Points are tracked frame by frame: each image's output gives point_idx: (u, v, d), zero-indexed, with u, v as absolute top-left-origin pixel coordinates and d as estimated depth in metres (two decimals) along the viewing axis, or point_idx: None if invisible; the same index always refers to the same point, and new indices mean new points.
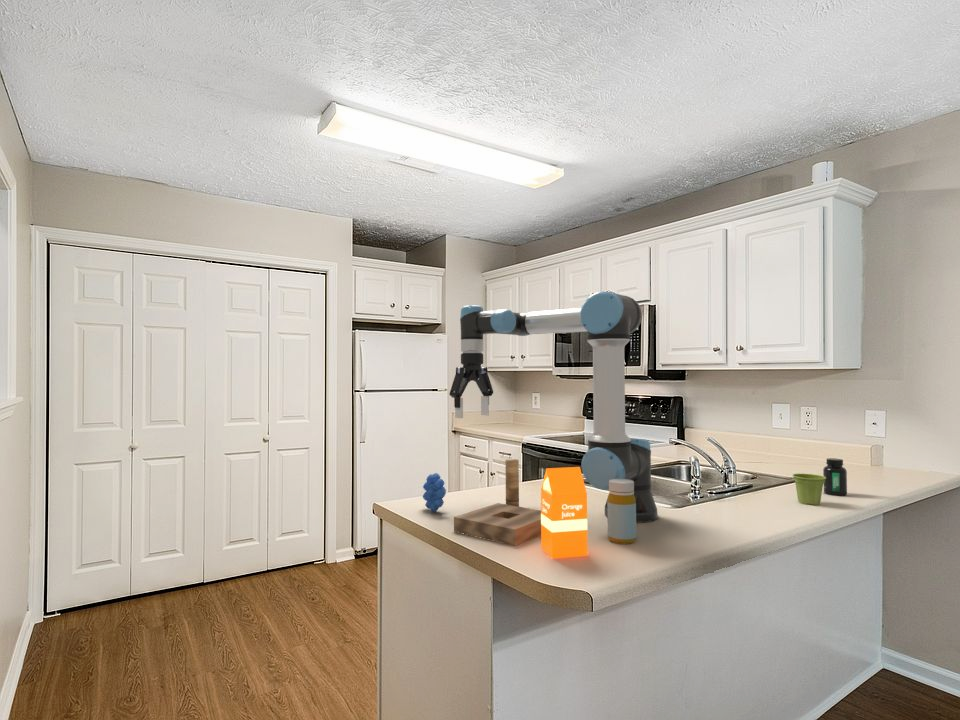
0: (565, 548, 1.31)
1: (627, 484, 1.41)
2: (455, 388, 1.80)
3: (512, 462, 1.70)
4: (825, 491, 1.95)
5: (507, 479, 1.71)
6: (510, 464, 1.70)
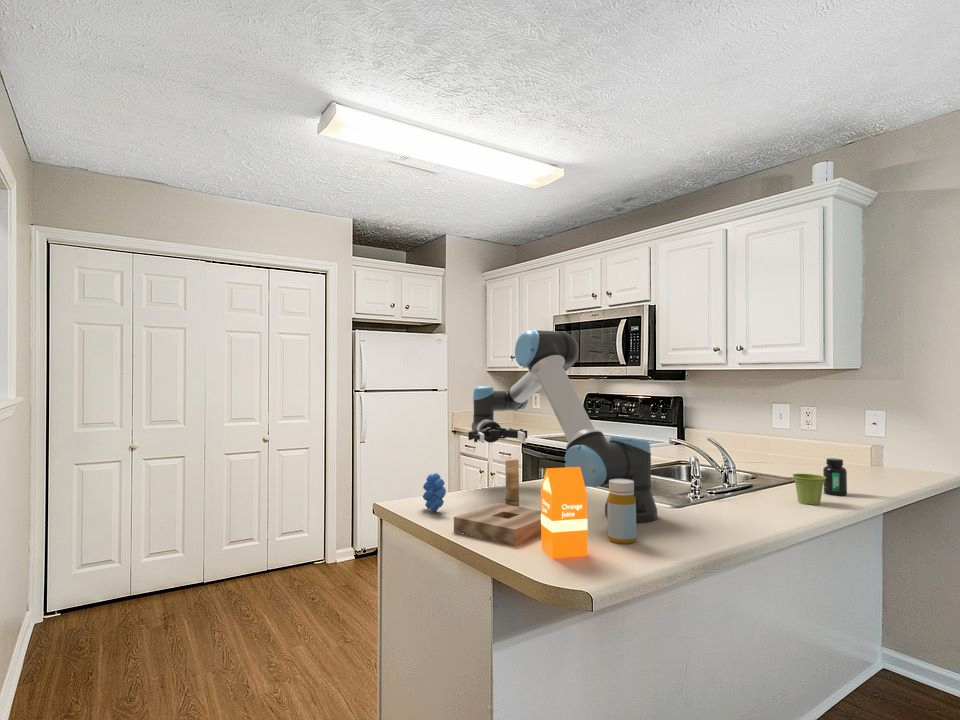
0: (565, 548, 1.31)
1: (627, 484, 1.41)
2: None
3: (512, 462, 1.70)
4: (825, 491, 1.95)
5: (507, 479, 1.71)
6: (510, 464, 1.70)
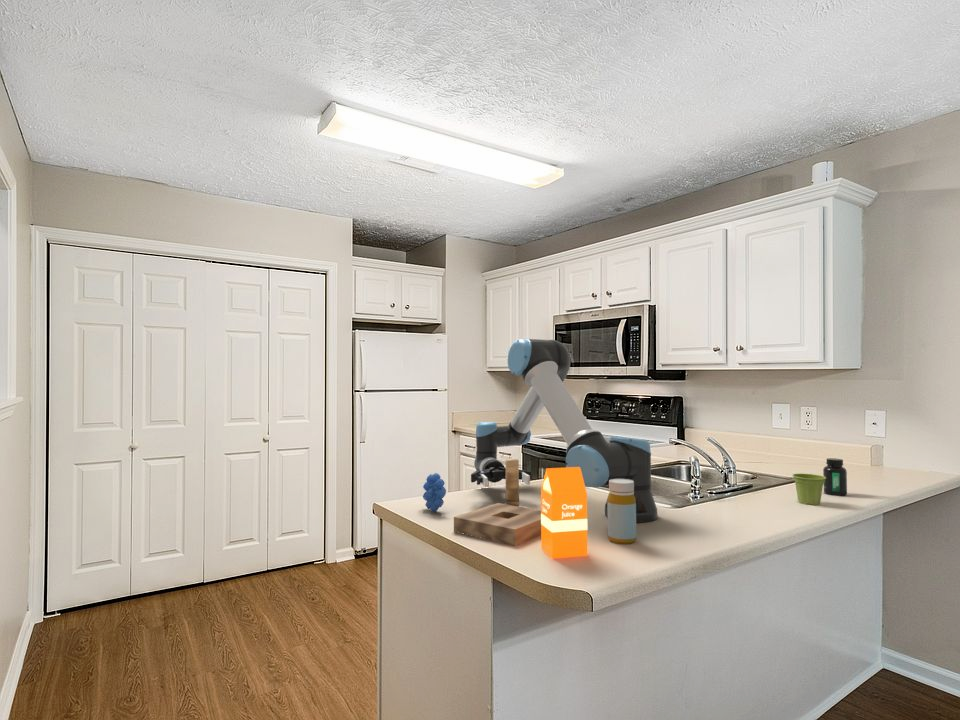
0: (565, 548, 1.31)
1: (627, 484, 1.41)
2: None
3: (512, 462, 1.70)
4: (825, 491, 1.95)
5: (507, 479, 1.71)
6: (510, 464, 1.70)
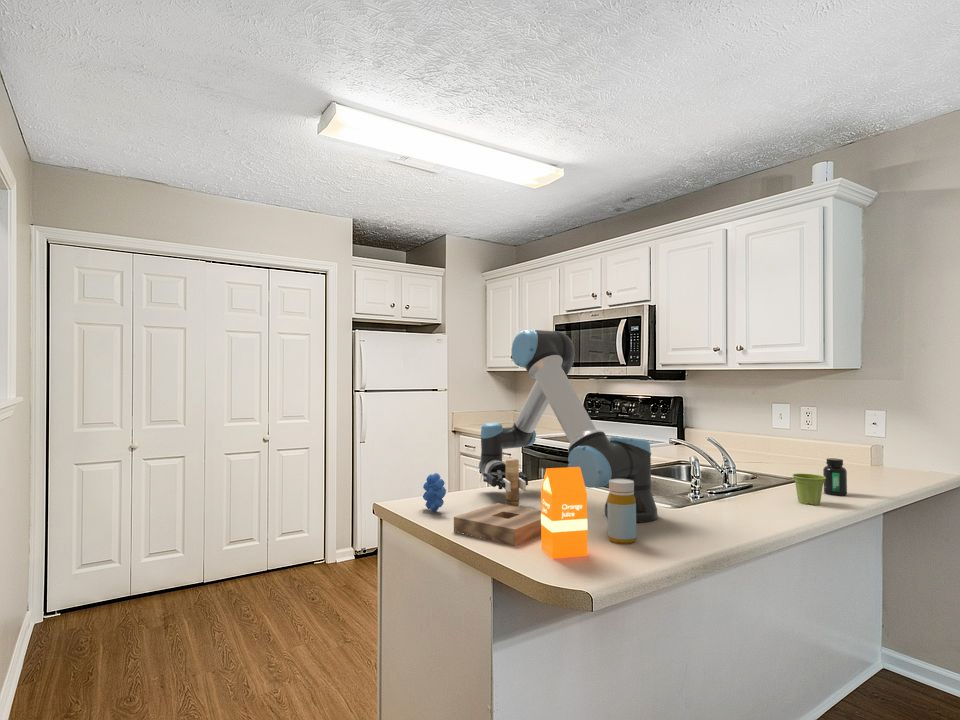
0: (565, 548, 1.31)
1: (627, 484, 1.41)
2: (490, 479, 1.75)
3: (512, 462, 1.70)
4: (825, 491, 1.95)
5: (507, 479, 1.71)
6: (510, 464, 1.70)
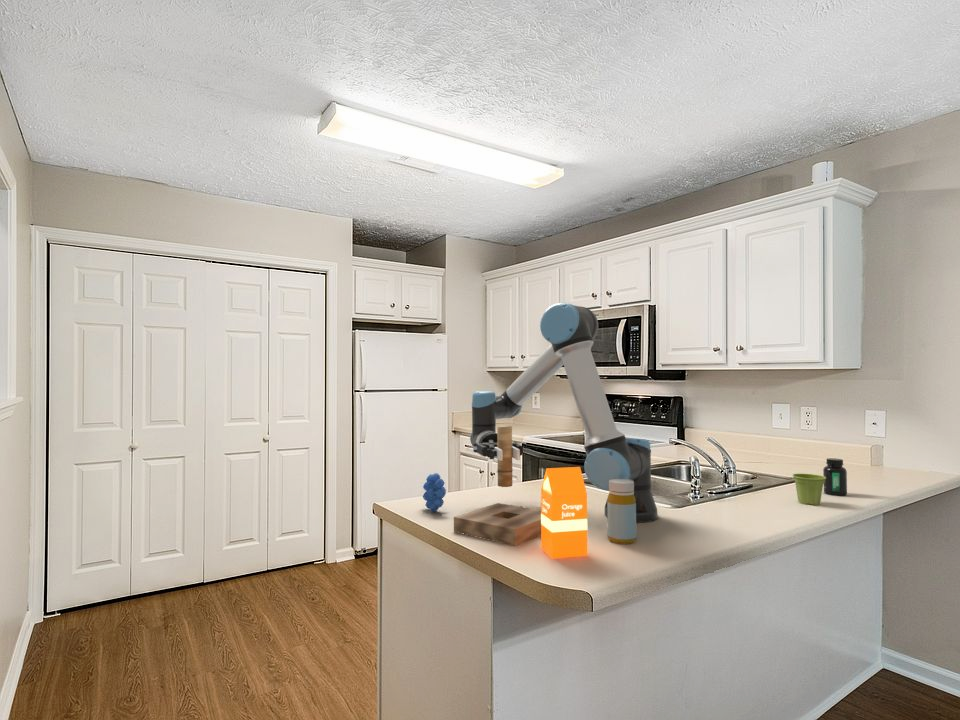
0: (565, 548, 1.31)
1: (627, 484, 1.41)
2: (481, 448, 1.57)
3: (504, 428, 1.52)
4: (825, 491, 1.95)
5: (499, 447, 1.53)
6: (502, 430, 1.53)
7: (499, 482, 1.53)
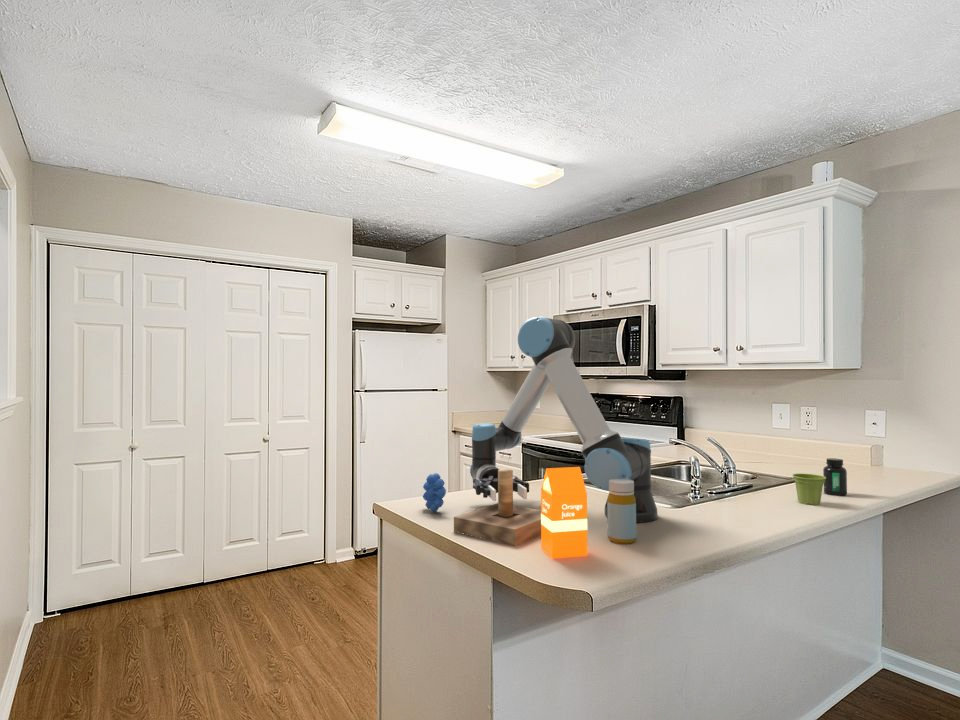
0: (565, 548, 1.31)
1: (627, 484, 1.41)
2: None
3: (505, 473, 1.52)
4: (825, 491, 1.95)
5: (500, 492, 1.53)
6: (503, 475, 1.52)
7: None
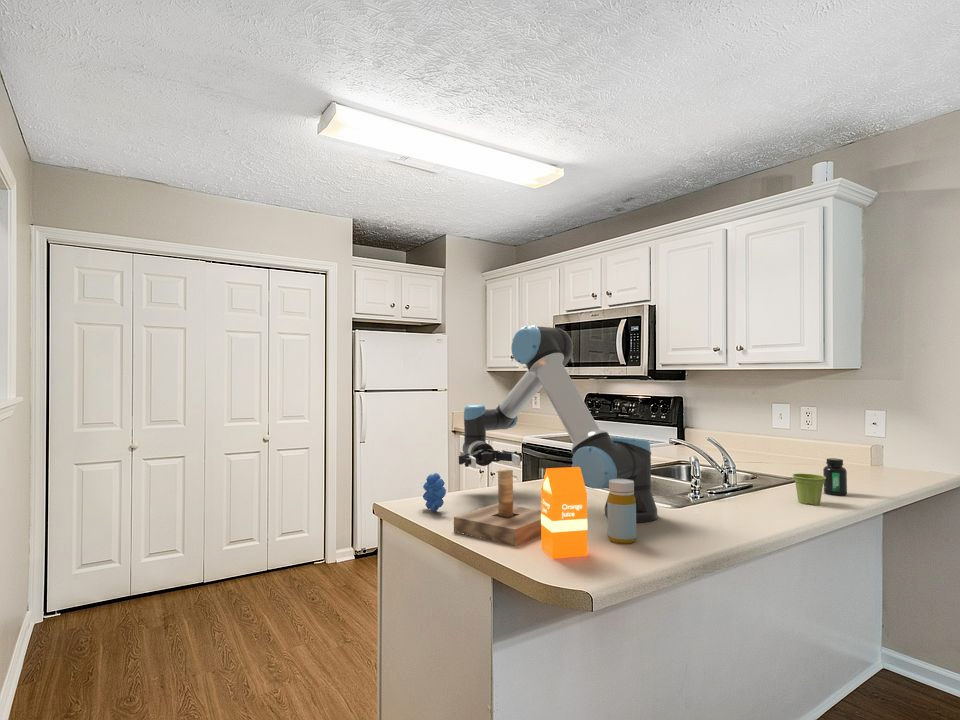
0: (565, 548, 1.31)
1: (627, 484, 1.41)
2: None
3: (505, 473, 1.52)
4: (825, 491, 1.95)
5: (500, 492, 1.53)
6: (503, 475, 1.52)
7: None
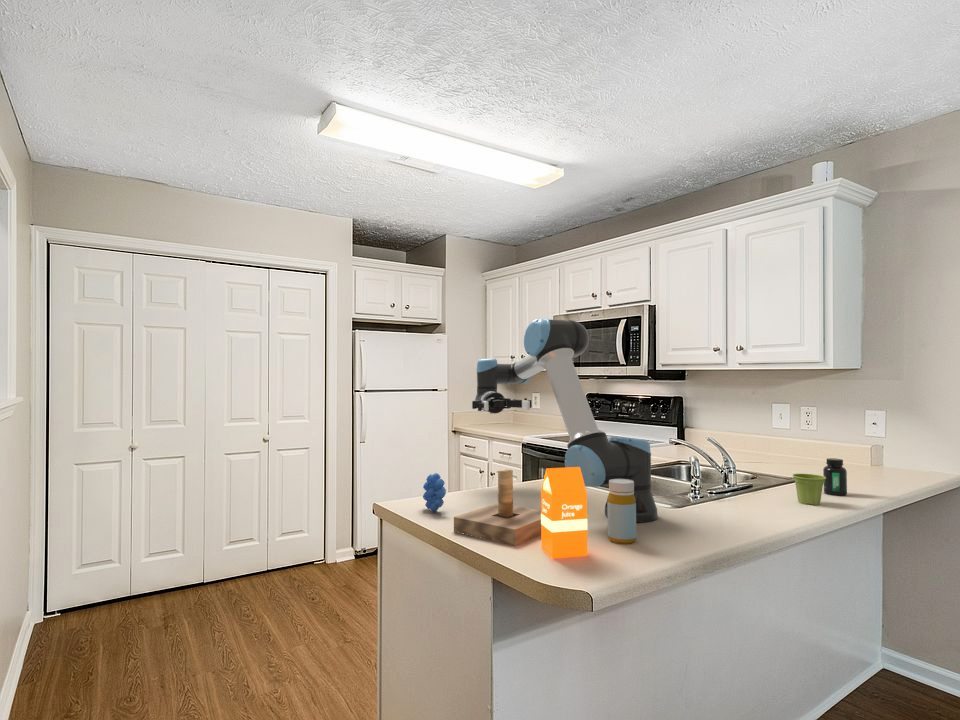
0: (565, 548, 1.31)
1: (627, 484, 1.41)
2: None
3: (505, 473, 1.52)
4: (825, 491, 1.95)
5: (500, 492, 1.53)
6: (503, 475, 1.52)
7: None
